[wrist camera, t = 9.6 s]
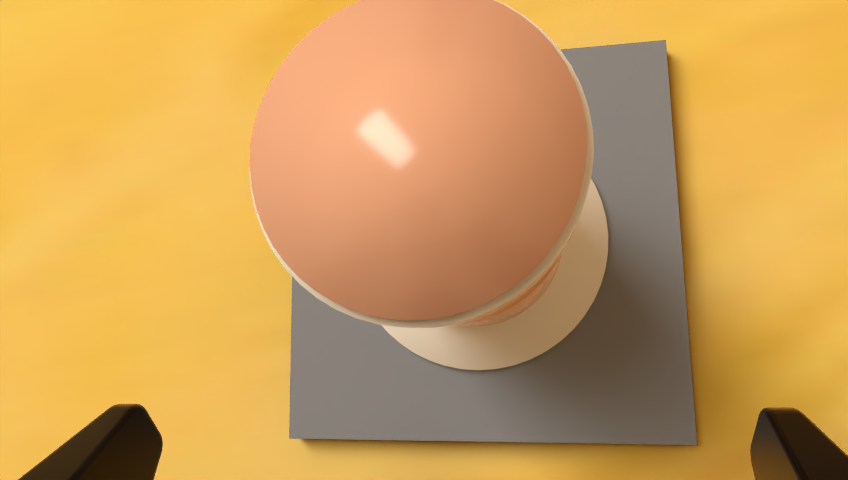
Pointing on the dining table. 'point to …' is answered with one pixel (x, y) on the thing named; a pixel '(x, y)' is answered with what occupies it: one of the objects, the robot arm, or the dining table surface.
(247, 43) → the dining table surface
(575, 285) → the card
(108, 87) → the dining table surface
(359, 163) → the terracotta tube
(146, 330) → the dining table surface
